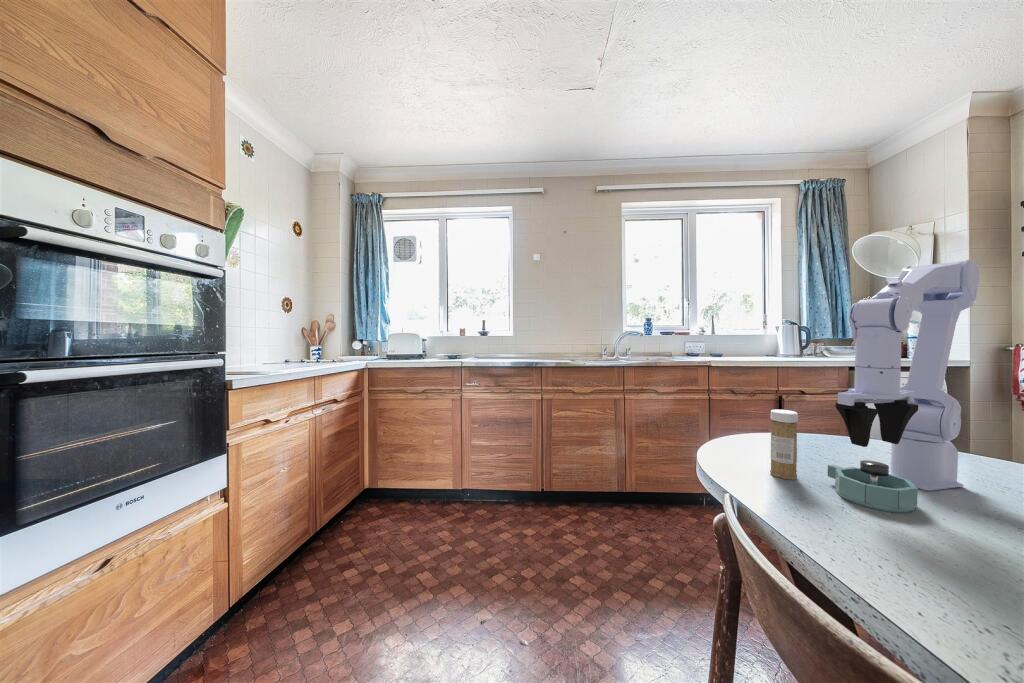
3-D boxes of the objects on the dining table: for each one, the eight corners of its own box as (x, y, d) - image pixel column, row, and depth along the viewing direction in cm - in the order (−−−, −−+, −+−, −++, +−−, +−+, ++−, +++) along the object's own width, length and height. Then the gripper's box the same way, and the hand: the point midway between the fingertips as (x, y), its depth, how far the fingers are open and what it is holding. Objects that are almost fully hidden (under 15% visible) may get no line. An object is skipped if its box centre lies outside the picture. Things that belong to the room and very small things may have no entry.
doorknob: (866, 483, 70) (866, 455, 70) (914, 500, 63) (915, 469, 63) (835, 486, 68) (836, 458, 68) (881, 504, 61) (882, 473, 61)
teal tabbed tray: (850, 480, 74) (850, 461, 74) (931, 509, 62) (932, 487, 62) (809, 484, 72) (810, 465, 72) (885, 515, 60) (885, 492, 60)
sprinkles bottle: (800, 477, 76) (802, 411, 75) (791, 482, 73) (792, 414, 73) (775, 470, 79) (776, 407, 79) (765, 474, 77) (766, 410, 76)
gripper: (881, 364, 70) (879, 434, 71) (820, 365, 67) (818, 439, 68) (930, 367, 63) (928, 446, 64) (864, 369, 60) (862, 452, 61)
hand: (874, 443), depth 65 cm, fingers open, 6 cm apart
